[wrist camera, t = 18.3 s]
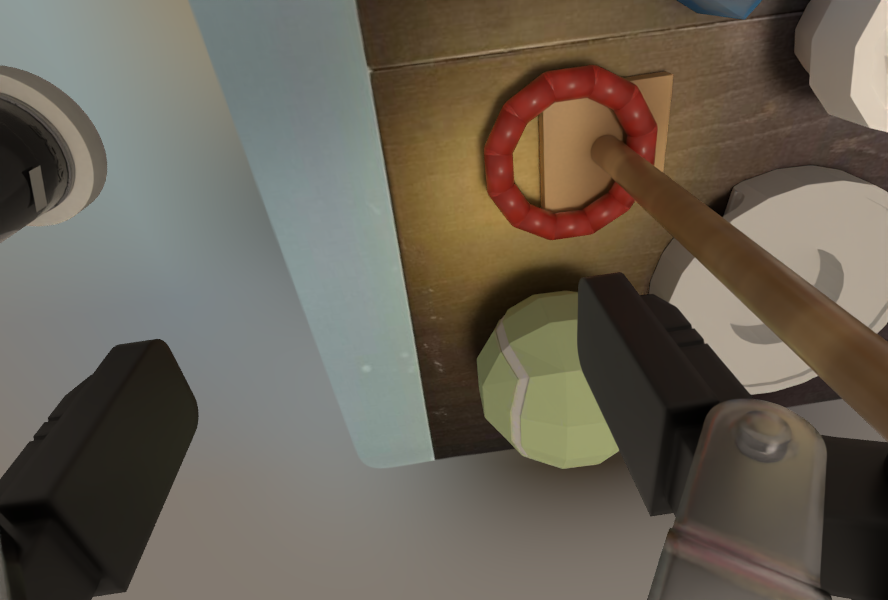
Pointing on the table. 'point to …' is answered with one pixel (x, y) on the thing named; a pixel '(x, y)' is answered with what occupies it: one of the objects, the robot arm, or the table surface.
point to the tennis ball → (542, 385)
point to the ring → (532, 103)
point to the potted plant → (847, 58)
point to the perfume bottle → (723, 7)
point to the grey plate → (801, 249)
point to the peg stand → (710, 242)
